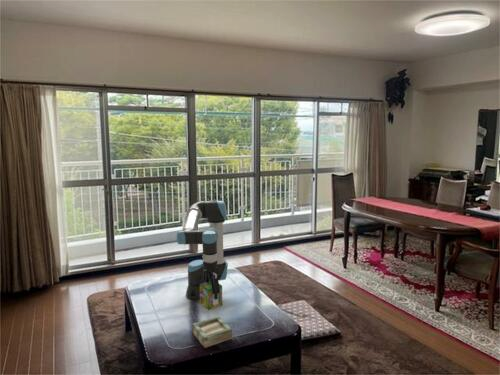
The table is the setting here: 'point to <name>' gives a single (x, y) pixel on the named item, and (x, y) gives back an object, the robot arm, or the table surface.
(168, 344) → the table surface
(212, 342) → the rectangular frame
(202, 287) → the chalk box
